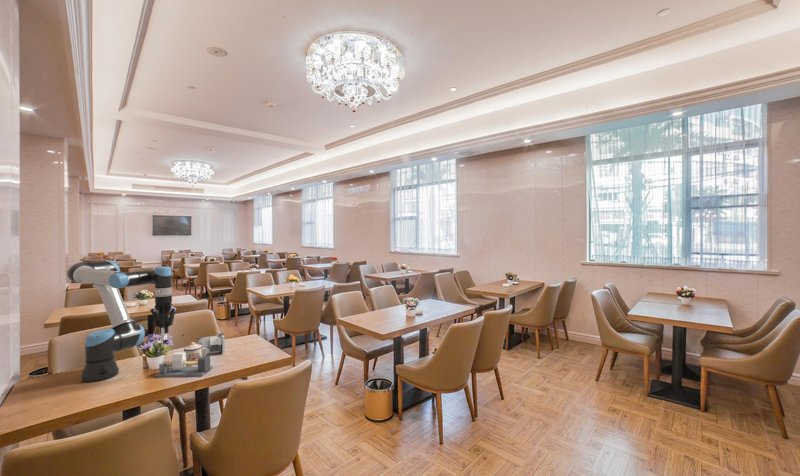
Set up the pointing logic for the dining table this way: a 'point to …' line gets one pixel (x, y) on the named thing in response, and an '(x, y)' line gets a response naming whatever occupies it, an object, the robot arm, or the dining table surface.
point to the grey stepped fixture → (186, 368)
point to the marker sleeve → (178, 360)
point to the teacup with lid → (193, 352)
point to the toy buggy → (212, 344)
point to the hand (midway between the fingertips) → (164, 339)
